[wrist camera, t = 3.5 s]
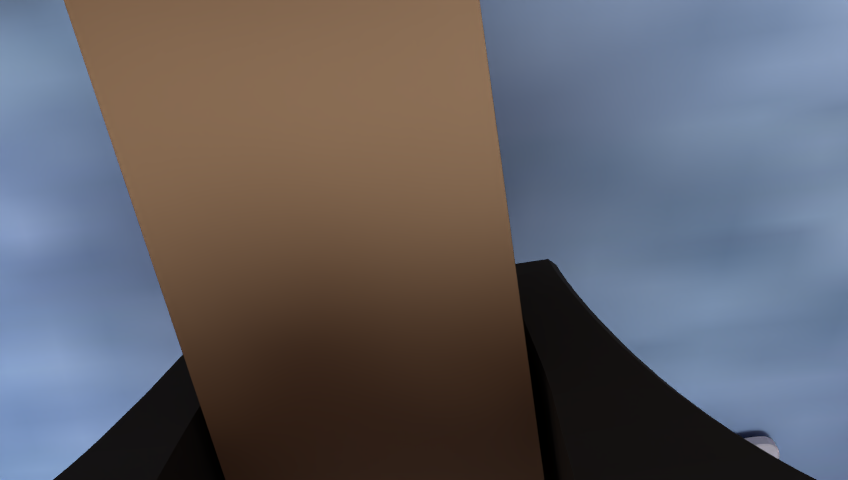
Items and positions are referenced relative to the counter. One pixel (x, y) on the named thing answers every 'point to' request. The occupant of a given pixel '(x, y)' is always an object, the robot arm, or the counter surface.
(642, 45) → the counter surface
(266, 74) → the brown rectangular block
